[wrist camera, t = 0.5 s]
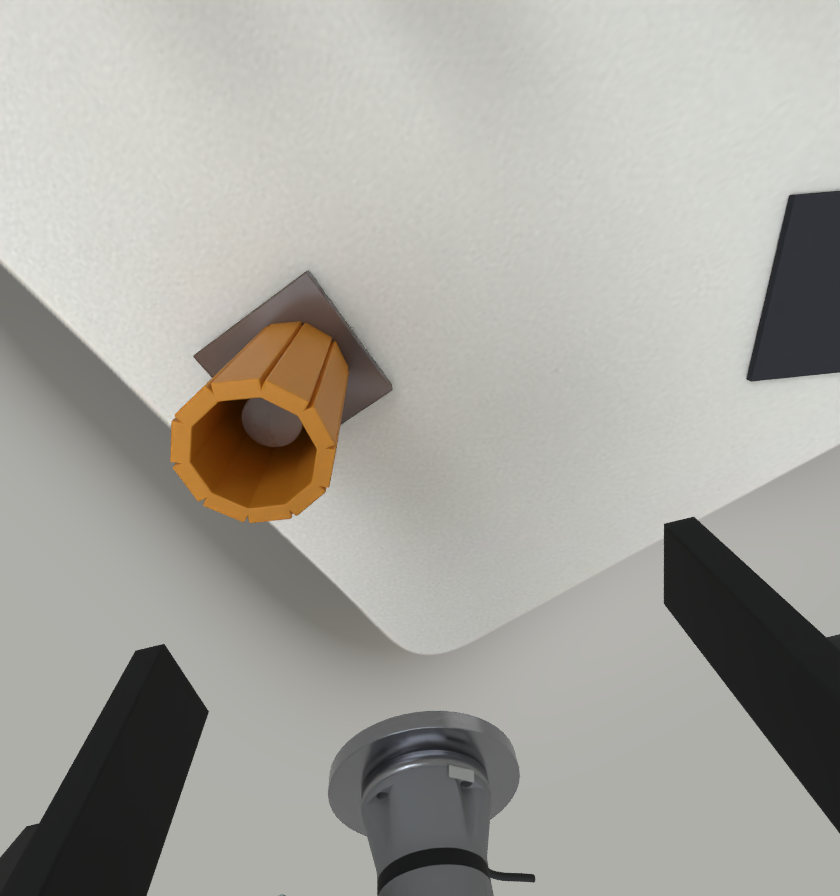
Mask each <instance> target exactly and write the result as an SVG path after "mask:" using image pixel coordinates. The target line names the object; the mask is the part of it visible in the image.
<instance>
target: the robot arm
mask: <svg viewBox="0 0 840 896" xmlns="http://www.w3.org/2000/svg"><path fill="white" fill-rule="evenodd" d="M664 604H665V606H666V607H667V608H668V610H669V611H670V612H671V613H672V615H673V616H674V617H675V619H676V620H677V621H678V623H679V624H680V625H681V626H682V628H683V629H684V630H685V632H686V633H687V634H688V636H689V637H690V638H691V640H692V641H693V642H694V644H695V645H696V646H697V648H698V649H699V650H700V651H701V653H702V654H703V655H704V657H705V658H706V659H707V661H708V662H709V663H710V665H711V666H712V667H713V668H714V670H715V671H716V672H717V674H718V675H719V676H720V677H721V679H722V680H723V681H724V683H725V684H726V685H727V687H728V688H729V689H730V691H731V692H732V693H733V694H734V696H735V697H736V698H737V700H738V701H739V702H740V704H741V705H742V706H743V708H744V709H745V710H746V711H747V713H748V714H749V715H750V717H751V718H752V719H753V720H754V722H755V723H756V725H757V726H758V727H759V728H760V730H761V731H762V732H763V734H764V735H765V736H766V738H767V739H768V740H769V742H770V743H771V744H772V745H773V747H774V748H775V749H776V751H777V752H778V753H779V755H780V756H781V757H782V758H783V760H784V761H785V762H786V764H787V765H788V766H789V768H790V769H791V770H792V772H793V773H794V774H795V776H796V777H797V778H798V779H799V781H800V782H801V783H802V785H803V786H804V787H805V789H806V790H807V791H808V793H809V794H810V795H811V796H812V797H813V799H814V800H815V802H816V803H817V804H818V805H819V807H820V808H821V809H822V811H823V812H824V813H825V815H826V816H827V817H828V819H829V820H830V821H831V823H832V824H833V825H834V826H835V828H836V829H837V830H838V832H839V833H840V634H839V635H835V636H831V637H827V638H826V637H825V636H824V635H823V634H822V633H821V632H820V631H818V630H817V629H816V628H815V627H814V626H813V625H812V624H811V623H810V622H809V621H807V620H806V619H805V618H804V617H803V616H802V615H801V614H800V613H799V612H797V611H796V610H795V609H794V608H793V607H792V606H791V605H790V604H789V603H788V602H787V601H785V599H783V598H782V597H781V596H780V595H779V594H778V593H777V592H776V591H775V590H774V589H772V588H771V587H770V586H769V585H768V584H767V583H766V582H765V581H764V580H763V579H761V578H760V577H759V576H758V575H757V574H756V573H755V572H754V571H753V570H752V569H751V568H749V567H748V566H747V565H746V564H745V563H744V562H743V561H742V560H740V558H738V557H737V556H736V555H735V554H734V553H733V552H732V551H731V550H730V549H729V548H728V547H726V546H725V545H724V544H723V543H722V542H721V541H720V540H719V539H718V538H717V537H715V536H714V535H713V534H712V533H711V532H710V531H709V530H708V529H707V528H706V527H705V526H703V525H702V524H701V523H700V522H699V521H698V520H697V519H696V518H695V517H691V518H687V519H682V520H678V521H674V522H670V523H666V524H664ZM208 712H209V711H208V710H207V708H206V707H205V705H204V704H203V702H202V701H201V699H200V698H199V696H198V695H197V694H196V692H195V690H194V688H193V687H192V685H191V684H190V682H189V681H188V679H187V678H186V677H185V675H184V673H183V672H182V670H181V669H180V667H179V666H178V664H177V663H176V661H175V660H174V658H173V657H172V655H171V653H170V652H169V650H168V649H167V647H166V646H165V644H162V645H158V646H153V647H149V648H146V649H141V650H137V651H135V653H134V655H133V656H132V658H131V660H130V662H129V664H128V665H127V667H126V669H125V671H124V673H123V674H122V676H121V678H120V680H119V682H118V684H117V685H116V687H115V689H114V690H113V692H112V694H111V696H110V698H109V700H108V701H107V703H106V705H105V707H104V708H103V710H102V712H101V714H100V716H99V717H98V719H97V721H96V723H95V725H94V727H93V728H92V730H91V732H90V734H89V735H88V737H87V739H86V741H85V742H84V744H83V746H82V748H81V750H80V751H79V753H78V755H77V757H76V759H75V760H74V762H73V764H72V766H71V767H70V769H69V771H68V773H67V775H66V776H65V778H64V780H63V782H62V784H61V785H60V787H59V789H58V791H57V793H56V794H55V796H54V798H53V800H52V802H51V803H50V805H49V807H48V809H47V811H46V812H45V814H44V816H43V818H42V819H41V821H40V823H39V824H35V825H31V826H27V827H26V828H25V829H24V830H23V831H22V832H21V834H20V835H19V836H18V837H17V838H16V840H15V841H14V842H13V843H12V844H11V845H10V847H9V848H8V849H7V850H6V851H5V852H4V854H3V855H2V856H1V857H0V896H147V892H148V890H149V887H150V884H151V881H152V878H153V875H154V872H155V869H156V866H157V863H158V860H159V857H160V854H161V851H162V848H163V845H164V842H165V839H166V836H167V833H168V830H169V827H170V825H171V822H172V818H173V815H174V813H175V809H176V807H177V804H178V801H179V798H180V795H181V792H182V789H183V786H184V783H185V780H186V777H187V774H188V771H189V768H190V765H191V762H192V760H193V757H194V753H195V751H196V748H197V745H198V741H199V739H200V736H201V733H202V730H203V727H204V724H205V721H206V718H207V715H208ZM490 811H491V790H490V785H489V780H488V776H487V773H486V771H485V769H484V768H483V767H482V766H481V765H480V764H479V763H478V762H477V761H476V760H474V759H472V758H470V757H469V756H466V755H464V754H461V753H457V752H453V751H446V750H424V751H417V752H412V753H408V754H404V755H401V756H398V757H396V758H393V759H391V760H389V761H387V762H385V763H384V764H382V765H381V766H379V767H378V768H376V769H375V770H374V771H373V772H372V773H371V774H370V775H369V776H368V778H367V779H366V781H365V782H364V784H363V787H362V792H361V815H362V819H363V823H364V826H365V830H366V834H367V837H368V841H369V845H370V848H371V852H372V856H373V859H374V863H375V867H376V871H377V884H378V886H377V891H378V892H377V894H378V896H493V890H492V885H491V880H490V878H493V879H497V880H502V881H522V882H535V876H534V875H533V874H522V873H502V872H496V871H493V870H490V869H489V868H488V862H487V850H488V836H489V824H490ZM280 896H285V895H280Z"/></svg>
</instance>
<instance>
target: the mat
mask: <svg viewBox="0 0 840 896" xmlns="http://www.w3.org/2000/svg"><path fill="white" fill-rule="evenodd" d="M838 372H840V191H834V192H822V193H811V194H799V195H790V196H789V200H788V205H787V209H786V213H785V218H784V222H783V226H782V230H781V235H780V239H779V243H778V247H777V252H776V256H775V260H774V265H773V269H772V273H771V277H770V282H769V286H768V290H767V294H766V299H765V303H764V307H763V312H762V316H761V320H760V324H759V329H758V333H757V337H756V341H755V346H754V350H753V354H752V359H751V363H750V367H749V371H748V376H747V380H749V381H760V380H770V379H779V378H789V377H799V376H809V375H818V374H828V373H838Z"/></svg>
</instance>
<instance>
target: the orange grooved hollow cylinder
mask: <svg viewBox="0 0 840 896" xmlns="http://www.w3.org/2000/svg"><path fill="white" fill-rule="evenodd" d="M331 341H332V337H330V336H329V335H327V334H325V333H323V332H322V331H320V330H318V329H316V328H315V327H313V326H311V325H309V324H307V323H304V325H303V326H302V323H301V321H298V322H287V323H276V324H270V325H269V326H268V327H267V326H266V327H265V328H264V329H263V330H262V331H261V332H260V333H259V334H258V335H257V336H255V337H254V338H253V339H252V340H251V341H250V342H249V343H248V344H247V345H246V346H245V347H244V348H243V349H242V350H241V351H240V352H239V353H238V354H237V355H236V356H235V357H234V358H233V359H232V360H231V361H230V362H229V363H227V364H226V365H225V366H224V367H223V368H222V369H221V370H220V371H219V372H218V373H217V374H216V375H215V376H214V377H213V378H212V379H211V380H210V381H209V382H208V383H207V384H206V385H205V386H204V387H203V388H202V389H201V390H200V391H198V392H197V393H196V394H195V395H194V396H193V397H192V398H191V399H190V400H189V401H188V402H187V403H186V404H185V405H184V406H183V407H182V408H181V409H180V410H179V411H178V412H177V413H176V414H175V417H176V418H175V419H174V420H173V421H172V425H171V462H174V463H176V464H175V465H174V466H173V469H174V470H175V471H176V473H177V474H178V476H179V477H180V478H181V480H182V481H183V482H184V484H185V485H186V486H187V488H188V489H189V490H190V492H191V493H192V494H193V496H194V497H195V498H196V500H197V501H201V500H204V499H205V501H204V503H203V506H205V507H208V508H210V509H212V510H215V511H217V512H220V513H222V514H225V515H227V516H229V517H232V518H234V519H237V520H239V521H241V522H244V521H245V520H246V518H247V516H248V519H249V522H250V523H256V522H265V521H274V520H283V519H291V518H292V514H294V515H296V516H297V515H299V514H300V513H301V512H302V511H303V510H305V509H306V508H307V507H308V506H309V505H311V504H312V503H313V502H314V501H315V500H317V499H318V498H319V497H320V496H321V495H323V494H324V493H325V492H326V487H329V485H330V480H331V475H332V469H333V464H334V459H335V453H336V448H337V441H338V435H339V429H340V423H341V417H342V411H343V405H344V399H345V393H346V387H347V381H348V375H349V371H348V365H347V363H346V361H345V359H344V357H343V355H342V353H341V351H340V349H339V347H338V345H337V343H336V341H333V342H331ZM251 398H263V399H265V400H267V401H269V402H271V403H273V404H275V405H277V406H279V407H281V408H283V409H285V410H287V411H289V412H291V413H293V414H295V415H297V416H298V417H299V419H300V421H301V422H302V424H303V428H302V431H301V433H300V435H299V436H298V438H297V439H296V440H294V441H293V442H292V443H290V444H288V445H286V446H282V447H268V446H264V445H261V444H259V443H257V442H256V441H254V440H253V439H252V438H251V437H250V436H249V435H248V434H247V433H246V431H245V429H244V427H243V425H242V421H241V412H242V408H243V406H244V404H245V403H246V401H247V400H248V399H251Z"/></svg>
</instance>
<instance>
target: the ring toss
mask: <svg viewBox="0 0 840 896" xmlns="http://www.w3.org/2000/svg"><path fill="white" fill-rule="evenodd" d="M298 321H301V323H302V326H303V325H304V323H307V324H309V325H311V326H313V327H315V328H316V329H318V330H320V331H322V332H323V333H325V334H327V335H329V336H330V337H332V341H331V342H333V341H336V343H337V345H338V347H339V349H340V351H341V353H342V355H343V357H344V359H345V361H346V363H347V365H348V371H349V375H348V381H347V387H346V393H345V399H344V405H343V411H342V417H341V423H340V425H341V424H342V423H344V422H345V421H347V420H348V419H350V418H351V417H353V416H354V415H356V414H357V413H359V412H360V411H362V410H363V409H365V408H366V407H368V406H369V405H371V404H372V403H374V402H375V401H377V400H378V399H380V398H381V397H383V396H384V395H386V394H387V393H389V392H390V391H392V385H391V383H390V382H389V381H388V379H387V378H386V377H385V375H384V374H383V372H382V371H381V370H380V368H379V367H378V366H377V364H376V363H375V361H374V360H373V359H372V357H371V356H370V355H369V353H368V352H367V350H366V349H365V348H364V346H363V345H362V344H361V342H360V341H359V339H358V338H357V337H356V335H355V334H354V333H353V331H352V330H351V328H350V327H349V326H348V324H347V323H346V322H345V320H344V319H343V317H342V316H341V315H340V313H339V312H338V310H337V309H336V308H335V306H334V305H333V304H332V302H331V301H330V299H329V298H328V297H327V295H326V294H325V293H324V291H323V290H322V288H321V287H320V286H319V284H318V283H317V282H316V280H315V279H314V277H313V276H312V275H311V273H310V272H309V271H306V272H305V273H304V274H302V275H301V276H300V277H298V278H297V279H296V280H294V281H293V282H292V283H290V284H289V285H288V286H286V287H285V288H284V289H282V290H281V291H280V292H278V293H277V294H276V295H274V296H273V297H271V298H270V299H269V300H267V301H266V302H265V303H263V304H262V305H261V306H259V307H258V308H257V309H255V310H254V311H253V312H251V313H250V314H249V315H247V316H246V317H245V318H243V319H242V320H241V321H239V322H238V323H237V324H235V325H234V326H233V327H231V328H230V329H229V330H227V331H226V332H225V333H223V334H222V335H221V336H219V337H218V338H217V339H215V340H214V341H213V342H211V343H210V344H209V345H207V346H206V347H205V348H203V349H202V350H201V351H199V352H198V353H196V354H195V355H194V356H193V357H194V358H195V359H196V360H197V361H198V362H199V364H200V365H201V366H202V367H203V368H204V369H205V370H206V371H207V372H208V373H209V375H210V376H211V377H212V378H213V377H214V376H215V375H216V374H217V373H218V372H219V371H220V370H221V369H222V368H223V367H224V366H225V365H226V364H227V363H229V362H230V361H231V360H232V359H233V358H234V357H235V356H236V355H237V354H238V353H239V352H240V351H241V350H242V349H243V348H244V347H245V346H246V345H247V344H248V343H249V342H250V341H251V340H252V339H253V338H254V337H255V336H257V335H258V334H259V333H260V332H261V331H262V330H263V329H264V328H265V327H266V326H267V327H268V326H269V325H270V324H276V323H287V322H298ZM241 421H242V425H243V427H244V429H245V431H246V433H247V434H248V435H249V436H250V437H251V438H252V439H253V440H254V441H256V442H257V443H259V444H261V445H264V446H268V447H282V446H286V445H288V444H290V443H292V442H293V441H294V440H296V439H297V438H298V436H299V435H300V433H301V431H302V428H303V424H302V422H301V421H300V419H299V417H298V416H297V415H295V414H293V413H291V412H289V411H287V410H285V409H283V408H281V407H279V406H277V405H275V404H273V403H271V402H269V401H267V400H265V399H263V398H251V399H248V400H247V401H246V403H245V404H244V406H243V408H242V412H241Z"/></svg>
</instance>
